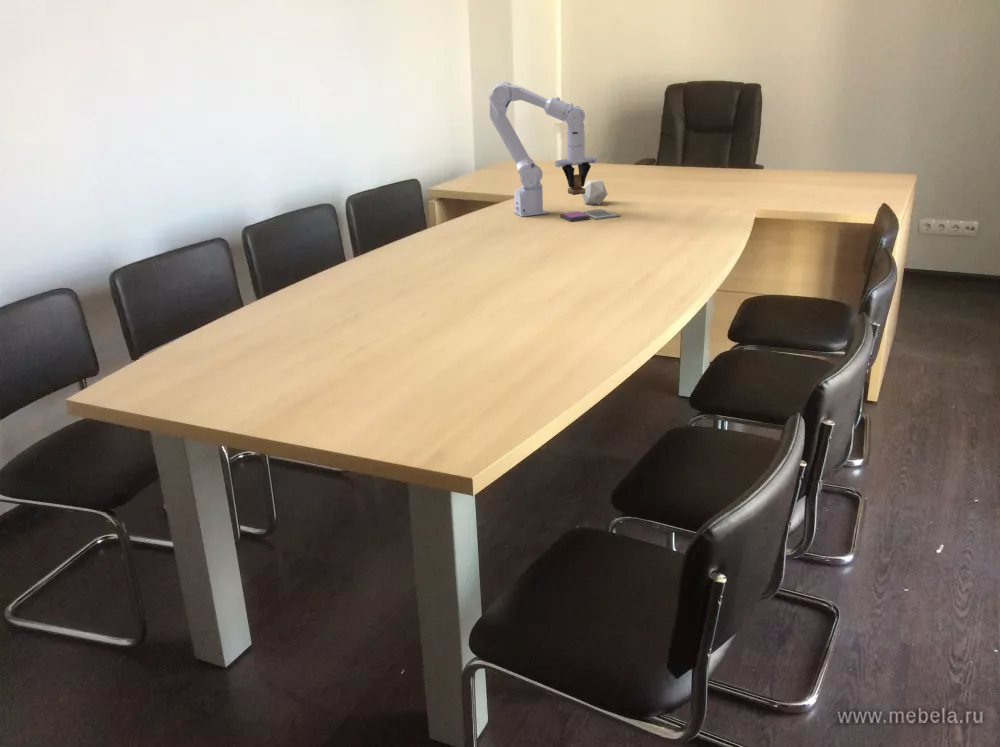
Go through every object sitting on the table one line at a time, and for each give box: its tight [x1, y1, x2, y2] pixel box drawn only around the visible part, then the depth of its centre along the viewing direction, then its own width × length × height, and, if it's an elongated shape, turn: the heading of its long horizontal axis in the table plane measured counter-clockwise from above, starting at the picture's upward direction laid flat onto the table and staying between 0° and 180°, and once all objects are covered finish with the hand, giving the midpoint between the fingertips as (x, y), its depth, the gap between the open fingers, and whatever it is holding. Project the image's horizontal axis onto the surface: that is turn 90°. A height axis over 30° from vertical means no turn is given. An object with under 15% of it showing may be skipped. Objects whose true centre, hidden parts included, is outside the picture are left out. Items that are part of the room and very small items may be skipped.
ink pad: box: [559, 211, 591, 223], centre depth 279 cm, size 7×8×1 cm
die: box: [581, 179, 608, 206], centre depth 299 cm, size 8×9×10 cm
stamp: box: [567, 173, 585, 196], centre depth 283 cm, size 4×4×6 cm
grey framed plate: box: [582, 208, 621, 220], centre depth 282 cm, size 9×11×1 cm
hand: (576, 186), depth 284 cm, fingers closed on stamp, 3 cm apart
